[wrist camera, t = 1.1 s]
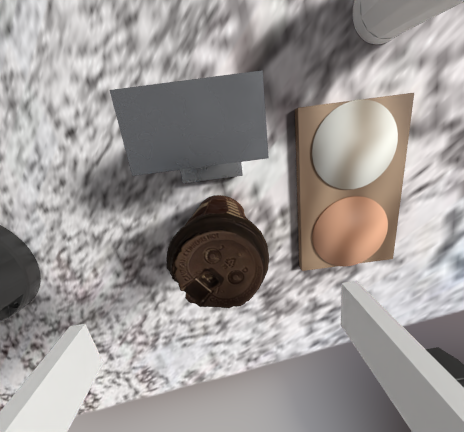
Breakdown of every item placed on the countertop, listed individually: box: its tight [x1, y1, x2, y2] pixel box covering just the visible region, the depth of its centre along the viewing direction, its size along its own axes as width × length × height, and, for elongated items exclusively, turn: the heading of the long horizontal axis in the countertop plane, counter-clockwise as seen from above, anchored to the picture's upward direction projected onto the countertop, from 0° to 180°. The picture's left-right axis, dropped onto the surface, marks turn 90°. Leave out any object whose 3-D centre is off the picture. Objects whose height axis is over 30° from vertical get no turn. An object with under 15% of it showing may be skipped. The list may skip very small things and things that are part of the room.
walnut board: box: [295, 93, 414, 271], centre depth 28 cm, size 13×21×2 cm, turn 7°
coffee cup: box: [167, 195, 269, 308], centre depth 23 cm, size 9×8×13 cm
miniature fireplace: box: [110, 70, 268, 183], centre depth 20 cm, size 9×8×13 cm
